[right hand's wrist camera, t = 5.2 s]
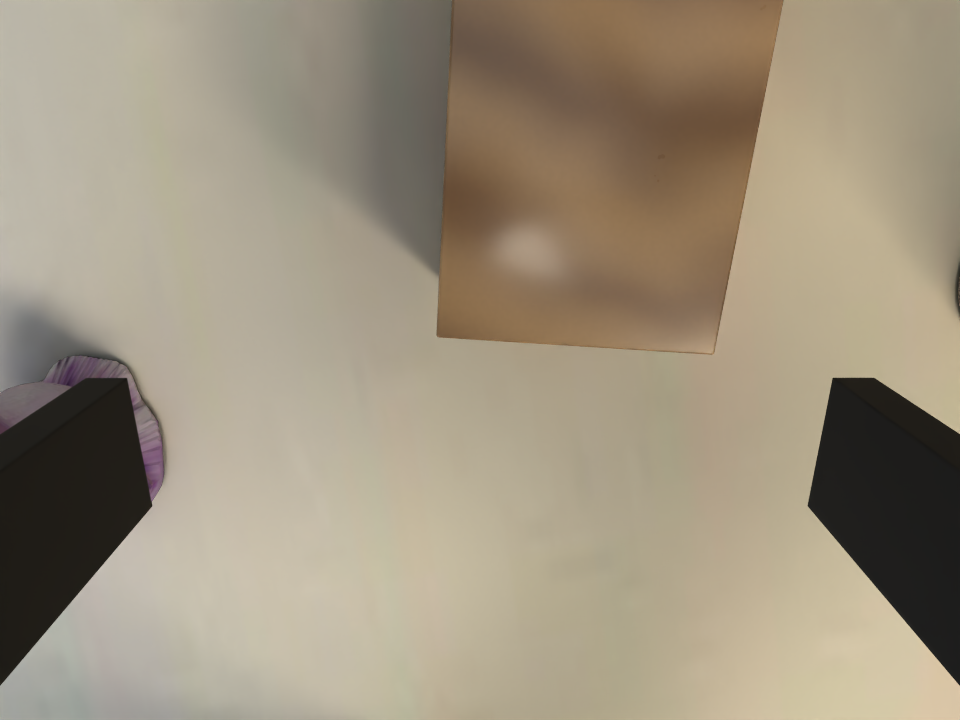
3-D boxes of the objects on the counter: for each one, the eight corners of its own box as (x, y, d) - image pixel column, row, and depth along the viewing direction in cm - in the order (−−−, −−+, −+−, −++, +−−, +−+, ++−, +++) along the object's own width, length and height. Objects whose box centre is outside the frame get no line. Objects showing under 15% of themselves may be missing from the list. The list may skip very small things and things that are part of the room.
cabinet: (469, -159, 27) (465, -279, 19) (728, -139, 27) (833, -247, 19) (446, 286, 33) (436, 337, 25) (657, 299, 34) (714, 355, 26)
